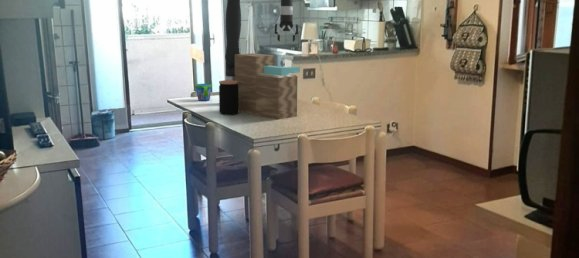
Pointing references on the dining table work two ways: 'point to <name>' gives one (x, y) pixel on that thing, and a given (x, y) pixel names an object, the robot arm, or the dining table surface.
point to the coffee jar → (228, 97)
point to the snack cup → (203, 91)
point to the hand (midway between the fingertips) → (286, 41)
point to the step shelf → (264, 88)
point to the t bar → (280, 70)
